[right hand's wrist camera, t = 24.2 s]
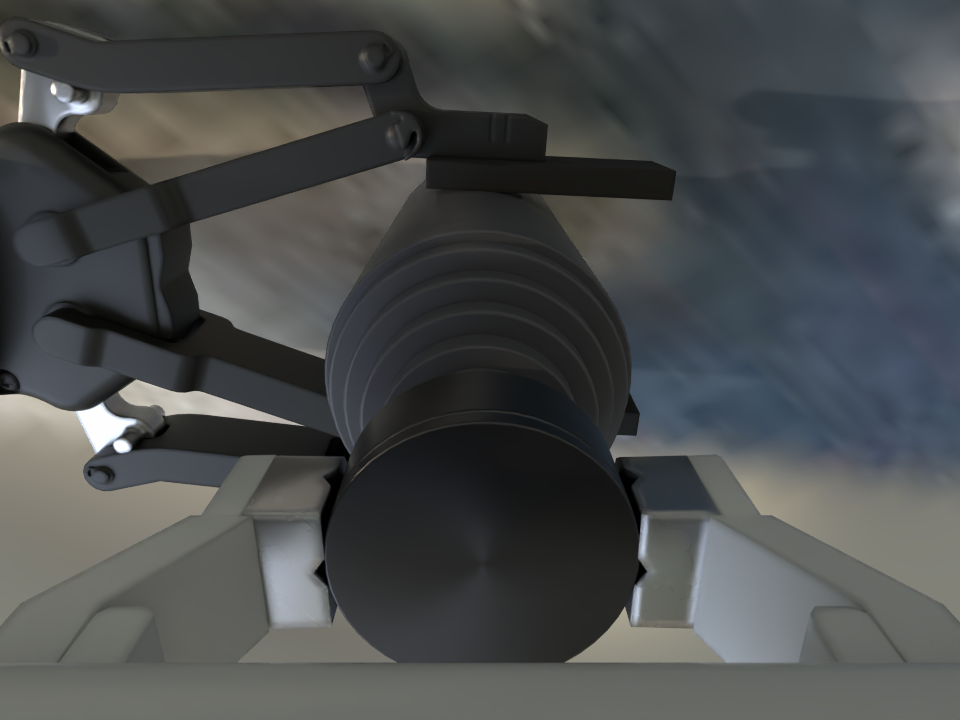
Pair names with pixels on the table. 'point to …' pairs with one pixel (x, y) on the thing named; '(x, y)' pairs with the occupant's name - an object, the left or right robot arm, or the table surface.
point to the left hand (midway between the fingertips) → (642, 299)
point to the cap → (481, 526)
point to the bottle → (476, 310)
